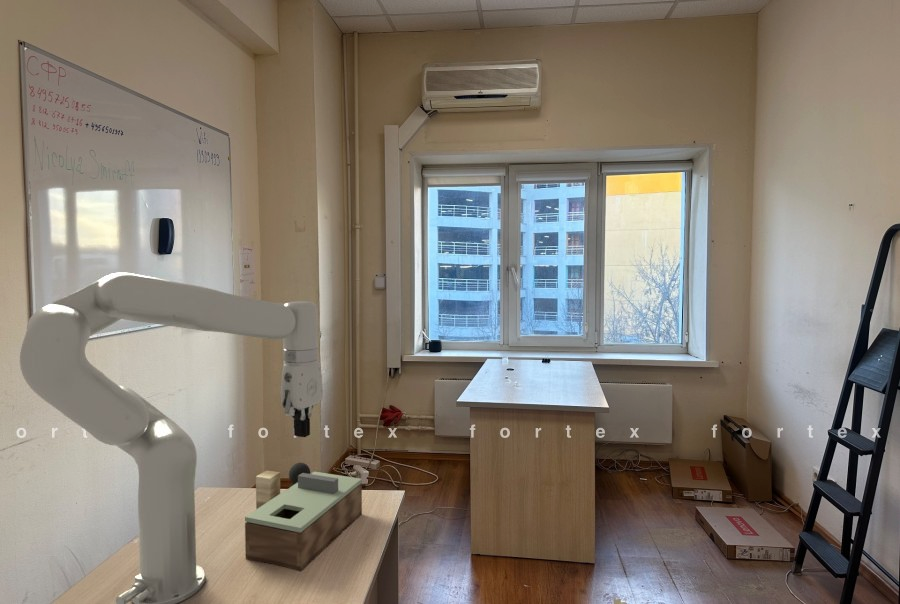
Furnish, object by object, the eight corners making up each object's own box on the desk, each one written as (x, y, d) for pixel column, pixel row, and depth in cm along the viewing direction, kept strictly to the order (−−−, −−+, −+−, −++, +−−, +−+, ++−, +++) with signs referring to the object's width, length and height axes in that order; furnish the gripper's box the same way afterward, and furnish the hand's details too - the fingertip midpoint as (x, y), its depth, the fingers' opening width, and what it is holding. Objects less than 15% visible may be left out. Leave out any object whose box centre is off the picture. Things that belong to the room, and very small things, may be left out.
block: (270, 527, 121) (269, 478, 121) (256, 524, 122) (255, 476, 122) (280, 519, 125) (280, 472, 124) (267, 516, 126) (266, 470, 126)
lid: (300, 532, 103) (300, 513, 103) (244, 521, 107) (244, 503, 107) (361, 482, 127) (361, 467, 127) (314, 475, 132) (314, 460, 132)
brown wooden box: (301, 571, 103) (300, 534, 103) (245, 558, 108) (245, 522, 107) (361, 514, 128) (361, 483, 127) (314, 505, 132) (314, 476, 132)
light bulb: (298, 505, 132) (298, 468, 132) (284, 500, 135) (284, 464, 135) (314, 497, 137) (314, 462, 136) (300, 492, 140) (300, 457, 139)
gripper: (294, 362, 105) (296, 448, 106) (333, 351, 119) (333, 427, 120) (265, 360, 107) (266, 444, 108) (306, 350, 121) (307, 424, 122)
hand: (302, 435), depth 114 cm, fingers closed
